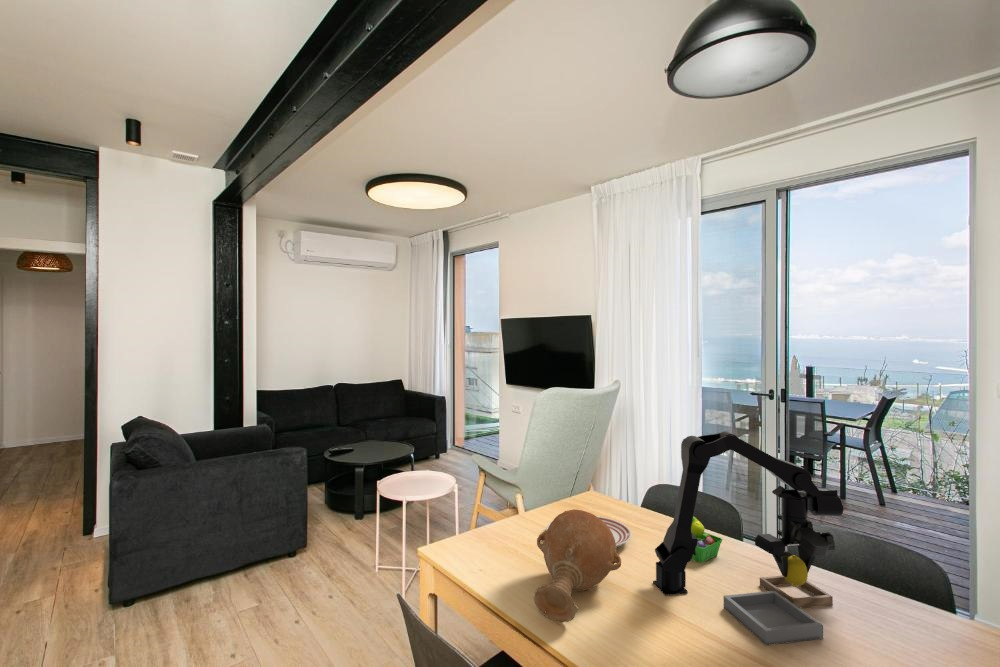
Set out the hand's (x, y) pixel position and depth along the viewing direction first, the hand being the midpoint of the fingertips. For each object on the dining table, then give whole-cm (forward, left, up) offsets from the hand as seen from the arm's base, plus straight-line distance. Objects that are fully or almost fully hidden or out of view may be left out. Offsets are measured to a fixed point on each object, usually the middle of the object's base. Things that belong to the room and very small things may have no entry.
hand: (794, 575), depth 118 cm
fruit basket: (-11, +24, -5) cm, 27 cm away
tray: (-15, -10, -5) cm, 18 cm away
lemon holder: (0, 0, -5) cm, 5 cm away
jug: (-57, +10, -5) cm, 58 cm away
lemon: (0, 0, -3) cm, 3 cm away
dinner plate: (-40, +41, -5) cm, 57 cm away
